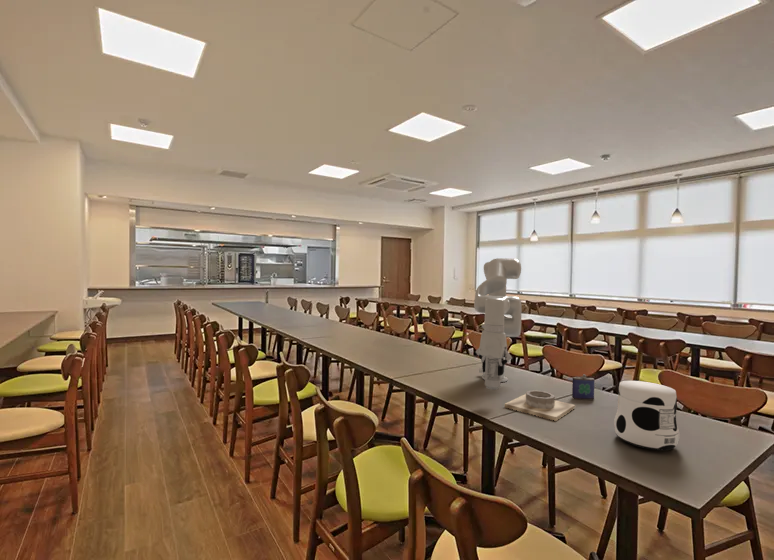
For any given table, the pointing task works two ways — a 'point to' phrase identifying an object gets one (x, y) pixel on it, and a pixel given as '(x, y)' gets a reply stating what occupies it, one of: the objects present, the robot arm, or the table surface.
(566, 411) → the collar board
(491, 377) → the energy drink can
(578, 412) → the table surface
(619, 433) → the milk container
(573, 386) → the flask
